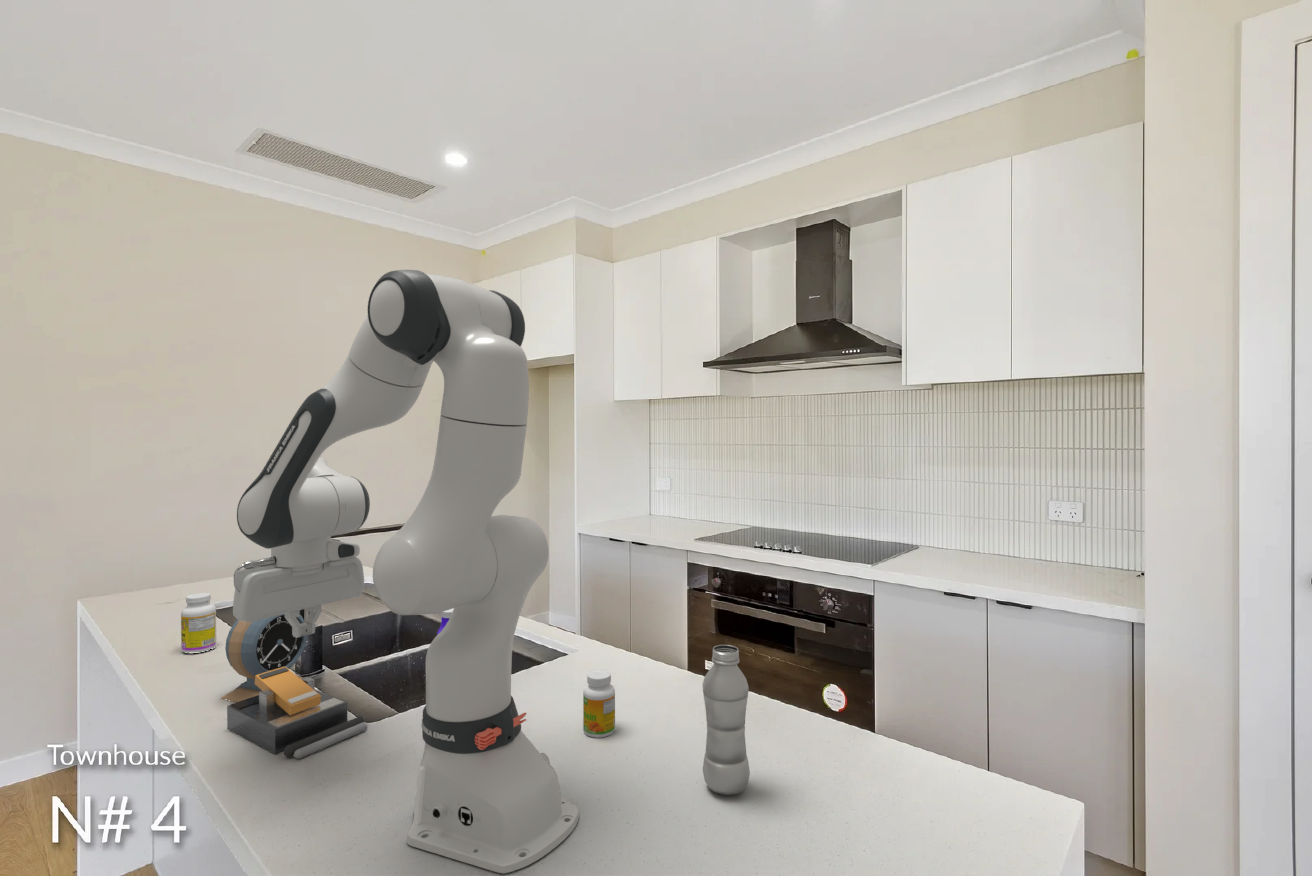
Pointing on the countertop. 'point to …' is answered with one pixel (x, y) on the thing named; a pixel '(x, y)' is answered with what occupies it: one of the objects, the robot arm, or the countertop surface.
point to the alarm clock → (261, 651)
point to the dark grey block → (283, 719)
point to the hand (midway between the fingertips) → (303, 635)
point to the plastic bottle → (725, 723)
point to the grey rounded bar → (325, 738)
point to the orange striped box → (288, 690)
